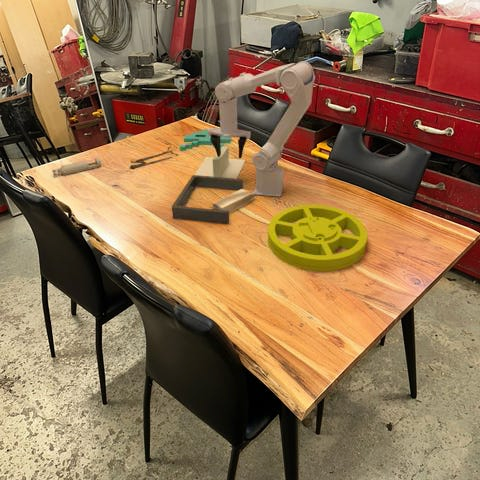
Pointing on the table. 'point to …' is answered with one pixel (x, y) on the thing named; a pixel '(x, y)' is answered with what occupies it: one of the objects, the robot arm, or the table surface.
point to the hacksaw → (149, 158)
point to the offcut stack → (234, 201)
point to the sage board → (221, 162)
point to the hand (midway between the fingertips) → (229, 156)
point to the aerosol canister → (77, 167)
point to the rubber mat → (230, 171)
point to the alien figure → (201, 140)
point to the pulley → (317, 237)
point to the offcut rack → (202, 213)
